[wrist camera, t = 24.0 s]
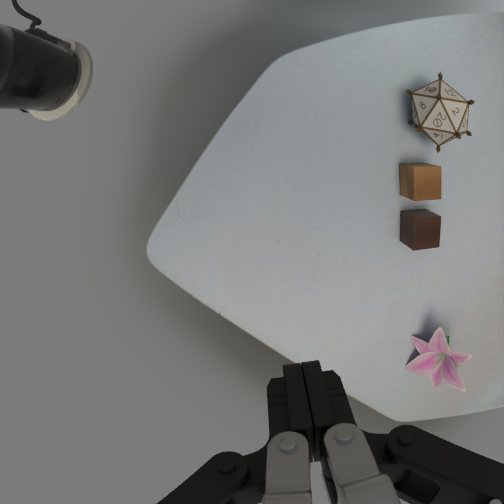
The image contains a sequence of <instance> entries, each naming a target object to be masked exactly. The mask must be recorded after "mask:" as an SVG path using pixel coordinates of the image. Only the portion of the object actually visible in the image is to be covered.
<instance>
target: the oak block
mask: <svg viewBox="0 0 504 504" xmlns="http://www.w3.org/2000/svg"><path fill="white" fill-rule="evenodd" d="M399 173H400V195H402V196H404V197H407V198H409V199H411V200H414V201H420V200H436V199H441V166H437V165H432V164H427V163H403V164H399Z"/></svg>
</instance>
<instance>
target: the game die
mask: <svg viewBox="0 0 504 504" xmlns="http://www.w3.org/2000/svg"><path fill="white" fill-rule="evenodd" d="M442 76H443V75H442V74H441V72H440V73H439V75H438V77H439V79H438V80H436V81H434V82H432V83H430V84H428V85H426V86H424V87H422V88H420V89H418V90H416V91H414V92H411V91H409V90H405V91H406V93H408V94H410V95H411V102H412V117H413V121H409V123H408V124H409V125H412V124H413V123H414V124H415V125H416V126H417V127H416V131H419V130H422V131H423V132H424V133H425V134H426V135H427V136H428V137H429V138H430V139H431V140H432V141H433V142H434V143H435V144H436V145H437V147H436V150H437V152H439V151H440V145H442V144H444V143H446V142H448V141H450V140H452V139H454V138H456V137H457V138H459V139H461V135H462V134H464V133H467V135H468V136H472V135H471V132H469V131H467V125H468V113H469V104H471V105H472V104H473V103H474V102H475V101H473V100H469V101H467V100H466V99H464V98H463V97H462V96H461V95H460V94H459V93H457V92H456V91H455V90H454V89H453V88H451V87H450V86H449V85H448V84H447V83H445V82H444V81H443V80H442V78H443V77H442Z"/></svg>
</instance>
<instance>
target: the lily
mask: <svg viewBox="0 0 504 504" xmlns="http://www.w3.org/2000/svg"><path fill="white" fill-rule="evenodd" d="M411 338H412V341H413V343H414V345H415V347H416V348H417V350H418V351H419V353H420V354H421V355H419V356H417V357H416V358H415V359H413V360H412V361H411V362H410V363H408V364H407V365H406V369H407V370H408V371H410V372H413V373H416V374H420V375H429V376H430V380H431V383H432V385H433V387H434V389H437V388H439V386H440V385H441V384H442V383H443V381H444V382H445V383H446V384H448V385H449V386H451V387H453V388H455V389H457V390H460V391H464V392H465V391H467V389H466V386H465V384H464V382H463V380H462V378H461V376H460V374H459V372H458V369H457V367H459V366H461V365H463V364H464V363H466V362H467V361H468V360H469V359H470V358H471V357H472V355H470V354H466V353H461V352H455V351H450V349H449V336H448V337H447V340H446V337H445V334H444V331H443V329H442V328H441V327H439V328H438V329H437V330H436V331H435V333H434V334H433V336H432V338H431V339H430V341H429V343H427V342H425V341H423V340H421V339H419V338H416V337H414V336H411Z"/></svg>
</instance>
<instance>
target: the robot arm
mask: <svg viewBox="0 0 504 504" xmlns="http://www.w3.org/2000/svg"><path fill="white" fill-rule="evenodd" d="M12 3H13V6H14V8H15V9H16V10H17V12H18V13H20V14H21V15H22V16H24V17H26V18H28V19H30V20H32V21H33V22H32V24H31V25H30V28H29V29H27V30H26V31H21V30H18V29H15V28H12V27H9V26H6V25H3V24H0V108H1V109H19V110H21V111H23V112H27V111H25V110H23V109H28V110H39V111H53V110H56V109H58V108H60V107H62V106H63V105H64V104H65V103H66V102H67V101H68V100H69V99H70V98H71V97H72V95H73V94H74V92H75V91H76V89H77V86H78V84H79V81H80V77H81V62H80V59H79V57H78V55H77V54H76V53H75V52H74V51H73V50H72V49H71V44H70V43H68V42H66V41H64V40H61V39H59V38H57V37H54V36H52V35H50V34H48V33H47V32H46V31H43V30H41V29H39V28H37V29H35V26H36V25H40V24H41V20H40V19H39V18H37V17H35V16H33V15H31V14H29V13H27V12H26V11H24V10H23V9H22V8H21V7H20V6H19V5H18V3H17V1H16V0H12ZM283 374H284V377H280V378H271V380H270V382H269V384H268V386H267V398H268V415H269V433H270V434H269V440H268V442H267V443H266V445H265V446H264V447H263V448H261V449H260V450H258V451H256V452H254V453H251V454H248V455H245V456H242V455H240V454H239V453H236V452H229V451H227V452H221V453H219V454H216V455H215V456H213V457H212V458H211V459H210V460H209V461H207V462H206V463H205V464H204V465H203V466H202V467H201V468H199V469H198V470H197V471H196V472H195V473H194V474H193V475H191V476H190V477H189V478H188V479H187V480H185V481H184V482H183V483H182V484H181V485H179V486H178V487H177V488H176V489H175V490H174V491H172V492H171V493H170V494H168V495H167V496H166V497H165V498H163V499H162V500H161V501H160V502H158V503H157V504H258V503H261V502H262V504H312V492H311V481H310V462H313V457H314V462H316V461H321V466H322V480H323V483H324V487H325V490H326V493H327V497H328V501H329V504H401V502H400V500H399V498H400V499H402V500H404V501H406V502H408V503H410V504H504V464H502V463H499V462H497V461H494V460H492V459H489V458H487V457H484V456H482V455H479V454H477V453H474V452H472V451H469V450H467V449H465V448H462V447H460V446H458V445H455V444H453V443H451V442H448V441H446V440H444V439H442V438H439V437H437V436H435V435H433V434H430V433H428V432H426V431H424V430H422V429H420V428H417V427H415V426H412V425H401V426H398V427H396V428H394V429H393V430H391V432H390V433H389V434H374V433H368V432H365V431H363V430H362V429H360V428H359V427H358V426H357V424H356V423H355V420H354V417H353V414H352V411H351V408H350V405H349V402H348V399H347V396H346V393H345V390H344V388H343V384H342V381H341V378H340V377H339V376H338V375H337V374H336V373H335V372H334V371H333V370H329V371H323V372H322V369H321V366H320V362H319V360H316V361H309V362H301V364H300V363H294V364H287V365H283Z"/></svg>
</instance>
